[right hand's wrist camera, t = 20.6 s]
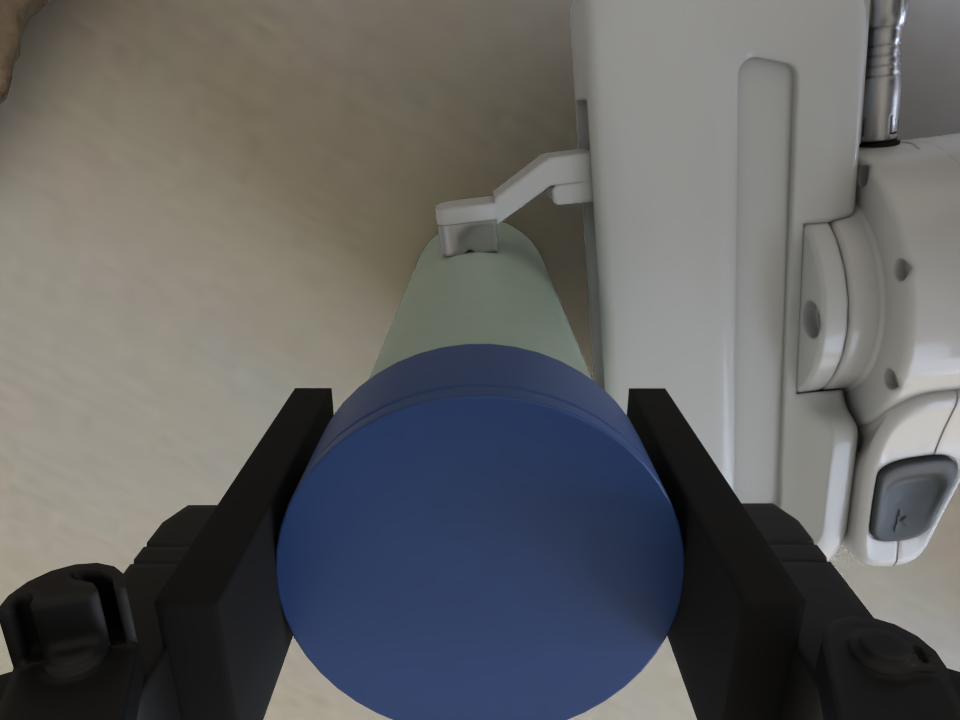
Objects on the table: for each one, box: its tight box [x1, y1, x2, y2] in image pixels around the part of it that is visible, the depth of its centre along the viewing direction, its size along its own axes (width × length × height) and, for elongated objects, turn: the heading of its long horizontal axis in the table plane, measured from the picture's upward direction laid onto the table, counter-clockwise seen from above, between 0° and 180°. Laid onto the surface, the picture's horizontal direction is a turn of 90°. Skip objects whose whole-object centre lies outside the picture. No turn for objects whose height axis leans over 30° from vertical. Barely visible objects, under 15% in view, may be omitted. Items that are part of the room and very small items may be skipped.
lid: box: [276, 344, 685, 720], centre depth 11 cm, size 6×6×2 cm
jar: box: [369, 221, 592, 380], centre depth 20 cm, size 6×6×18 cm
